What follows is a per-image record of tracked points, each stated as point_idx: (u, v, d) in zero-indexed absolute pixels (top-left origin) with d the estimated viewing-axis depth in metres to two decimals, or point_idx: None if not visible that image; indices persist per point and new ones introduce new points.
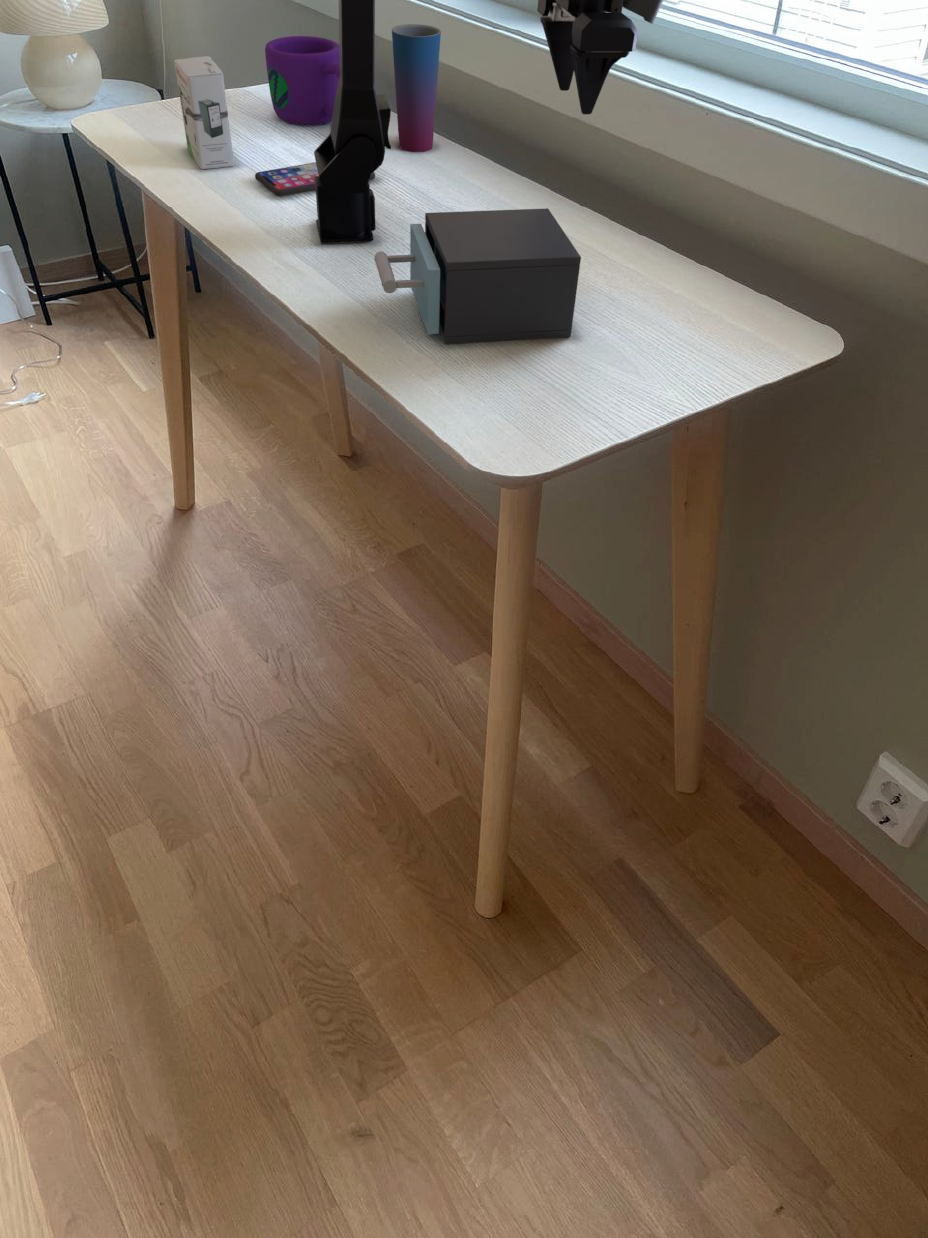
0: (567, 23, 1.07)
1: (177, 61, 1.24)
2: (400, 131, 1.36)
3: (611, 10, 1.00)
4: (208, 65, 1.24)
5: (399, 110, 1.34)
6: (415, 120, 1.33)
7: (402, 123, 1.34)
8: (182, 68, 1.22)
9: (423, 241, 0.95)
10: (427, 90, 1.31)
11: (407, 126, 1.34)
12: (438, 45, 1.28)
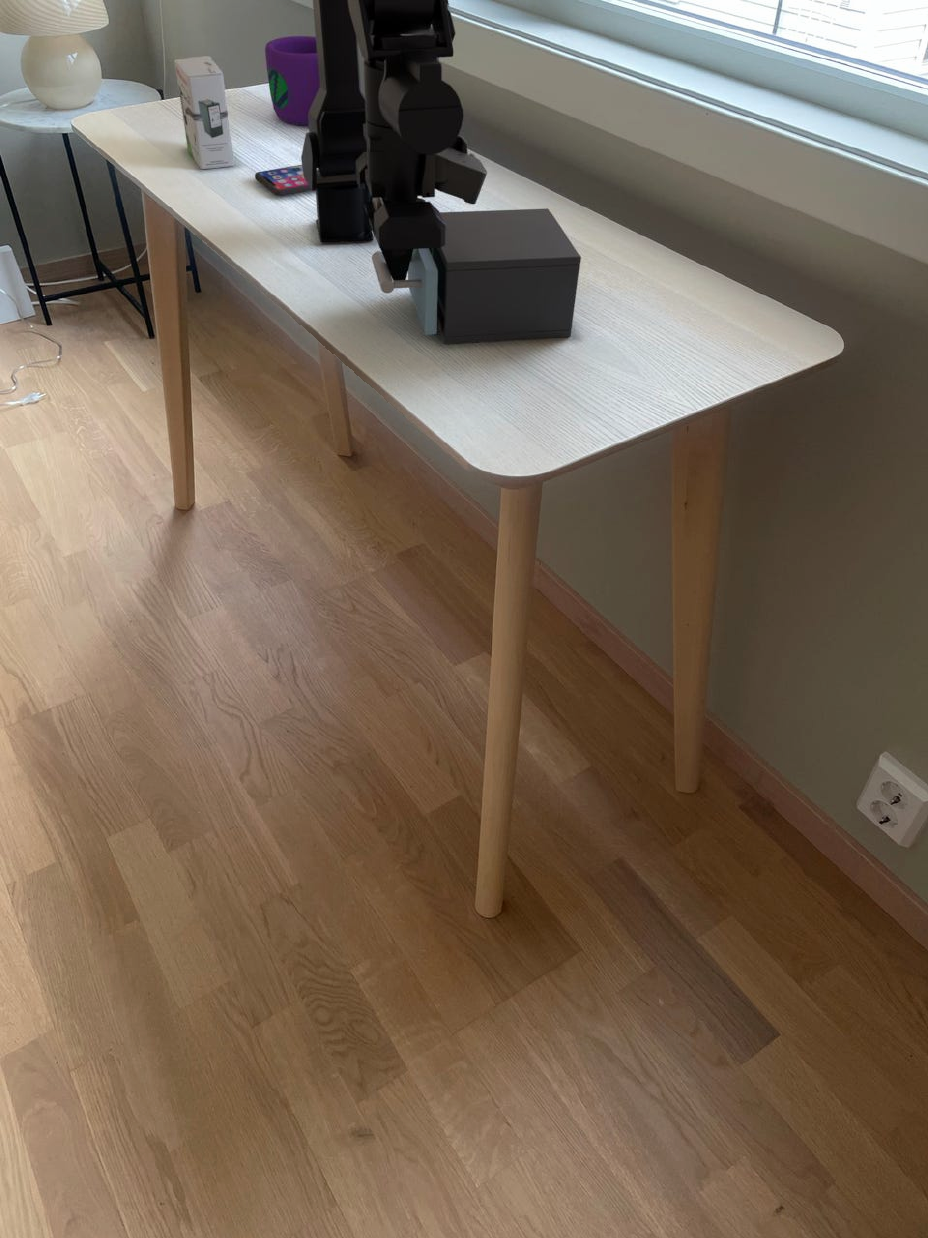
0: None
1: (177, 61, 1.24)
2: None
3: (422, 195, 0.88)
4: (208, 65, 1.24)
5: None
6: None
7: None
8: (182, 68, 1.22)
9: None
10: None
11: None
12: None
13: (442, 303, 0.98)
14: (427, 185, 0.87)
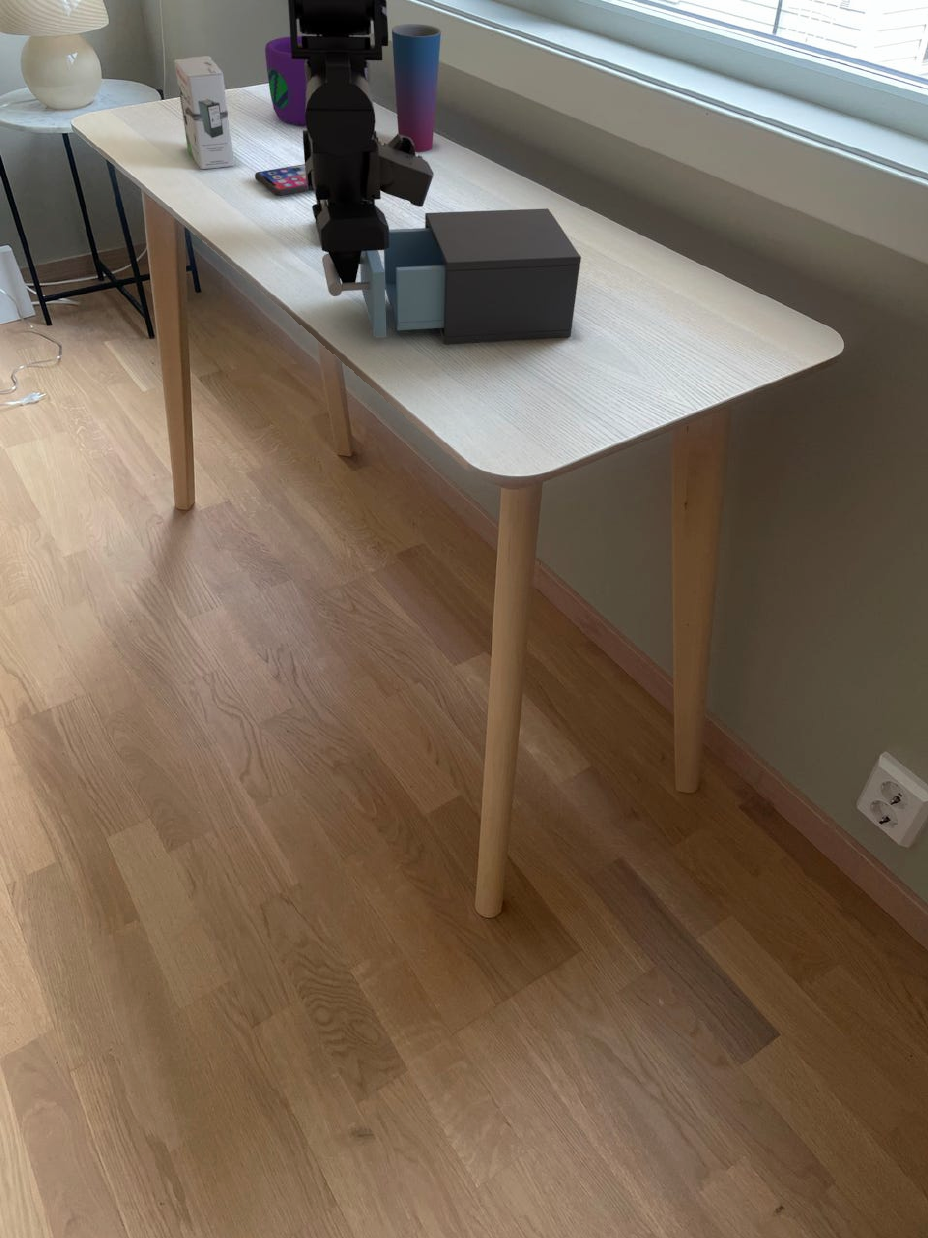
0: None
1: (177, 61, 1.24)
2: (400, 131, 1.36)
3: (367, 197, 0.87)
4: (208, 65, 1.24)
5: (399, 110, 1.34)
6: (415, 120, 1.33)
7: (402, 123, 1.34)
8: (182, 68, 1.22)
9: None
10: (427, 90, 1.31)
11: (407, 126, 1.34)
12: (438, 45, 1.28)
13: (393, 306, 0.97)
14: (372, 187, 0.86)
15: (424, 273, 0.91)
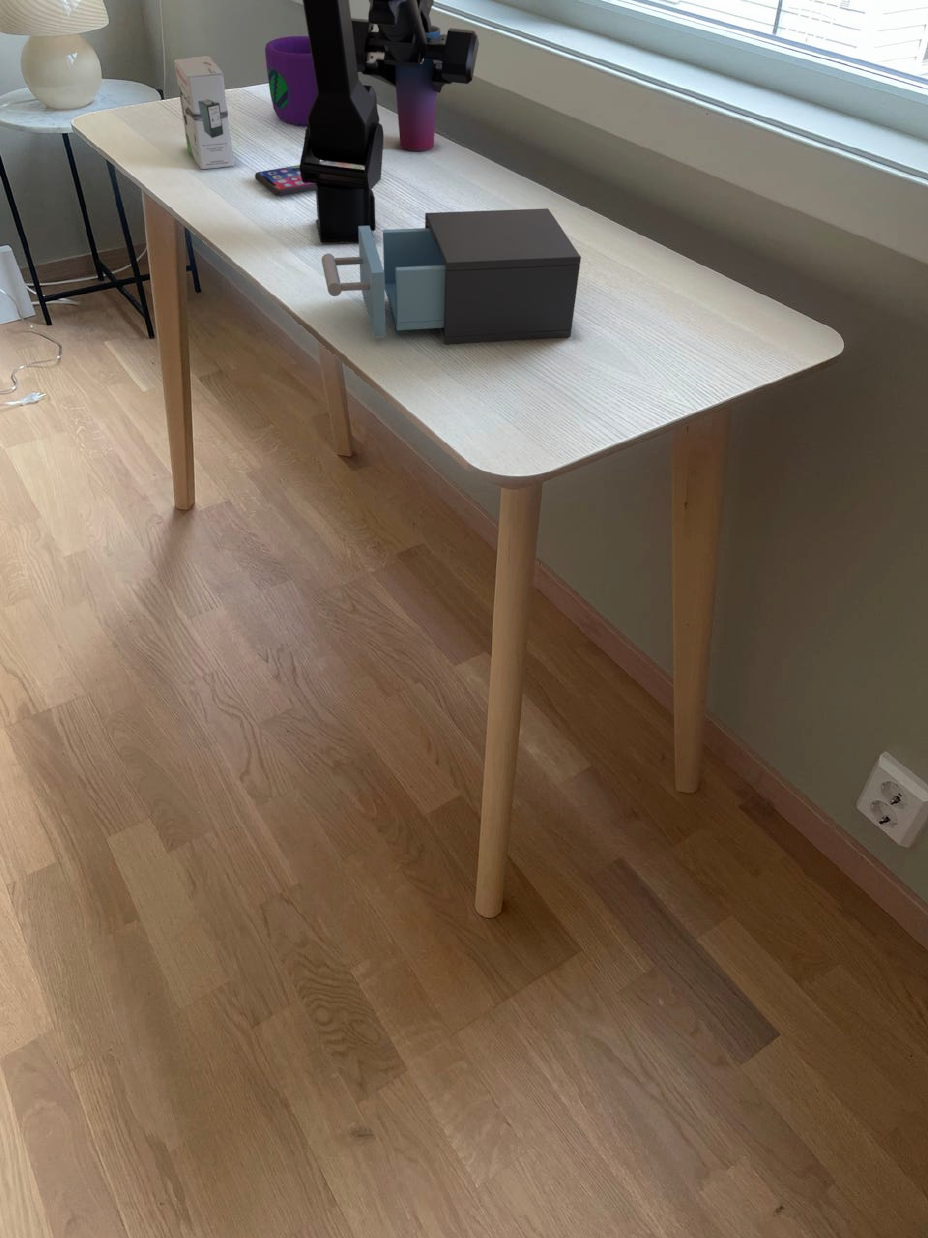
0: None
1: (177, 61, 1.24)
2: (401, 130, 1.35)
3: (429, 31, 1.24)
4: (208, 65, 1.24)
5: (400, 109, 1.34)
6: (416, 118, 1.33)
7: (403, 122, 1.34)
8: (182, 68, 1.22)
9: (370, 243, 0.94)
10: (427, 88, 1.31)
11: (408, 125, 1.34)
12: None
13: (392, 306, 0.97)
14: (429, 23, 1.23)
15: (423, 273, 0.91)
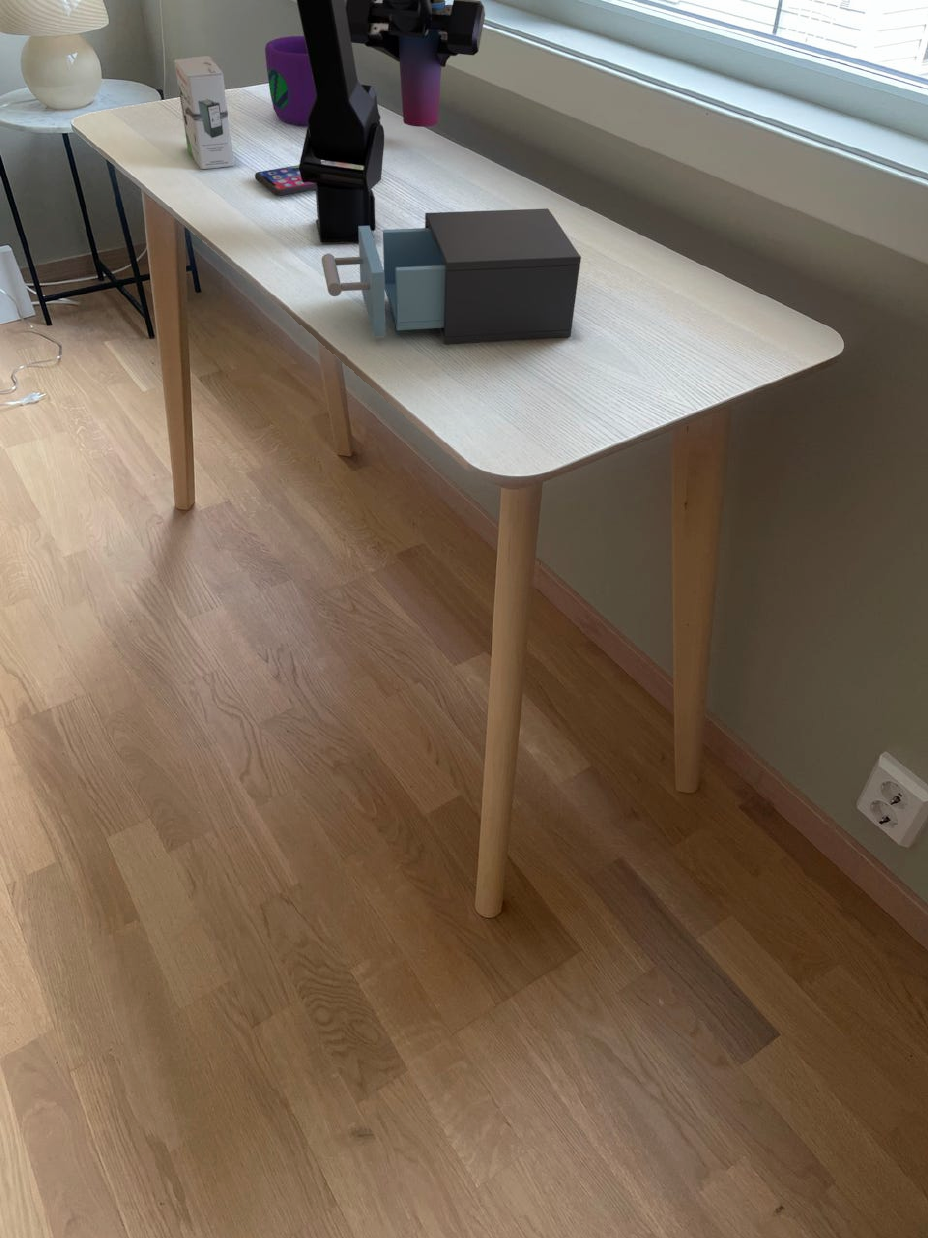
0: None
1: (177, 61, 1.24)
2: (405, 106, 1.32)
3: (434, 1, 1.21)
4: (208, 65, 1.24)
5: (403, 83, 1.30)
6: (420, 93, 1.30)
7: (407, 97, 1.31)
8: (182, 68, 1.22)
9: (370, 243, 0.94)
10: (432, 61, 1.28)
11: (411, 100, 1.31)
12: None
13: (392, 306, 0.97)
14: None
15: (423, 273, 0.91)
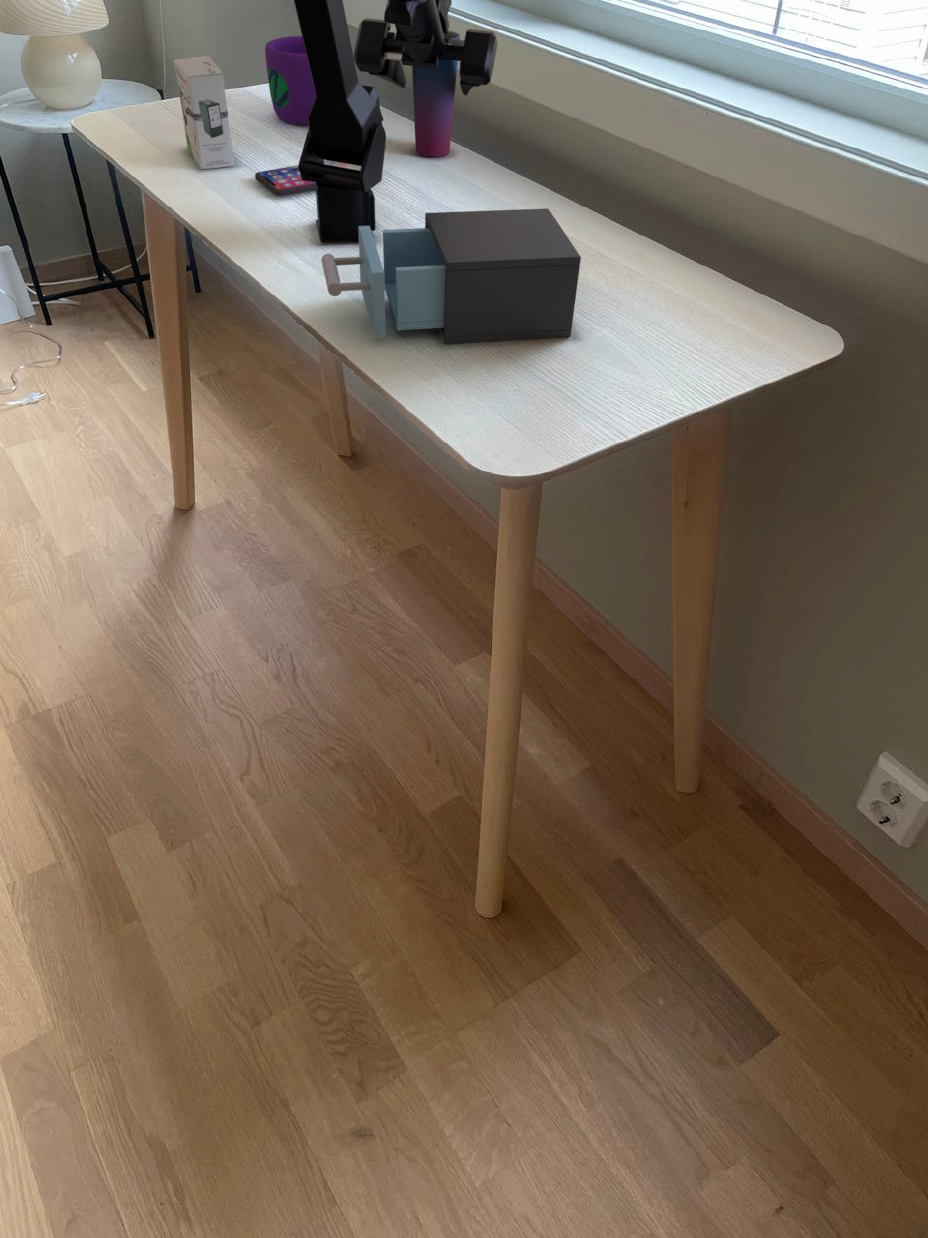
0: None
1: (177, 61, 1.24)
2: (417, 136, 1.34)
3: (447, 32, 1.22)
4: (208, 65, 1.24)
5: (416, 114, 1.32)
6: (432, 124, 1.32)
7: (419, 127, 1.33)
8: (182, 68, 1.22)
9: (370, 243, 0.94)
10: (445, 94, 1.29)
11: (424, 130, 1.33)
12: None
13: (392, 306, 0.97)
14: (447, 24, 1.21)
15: (423, 273, 0.91)
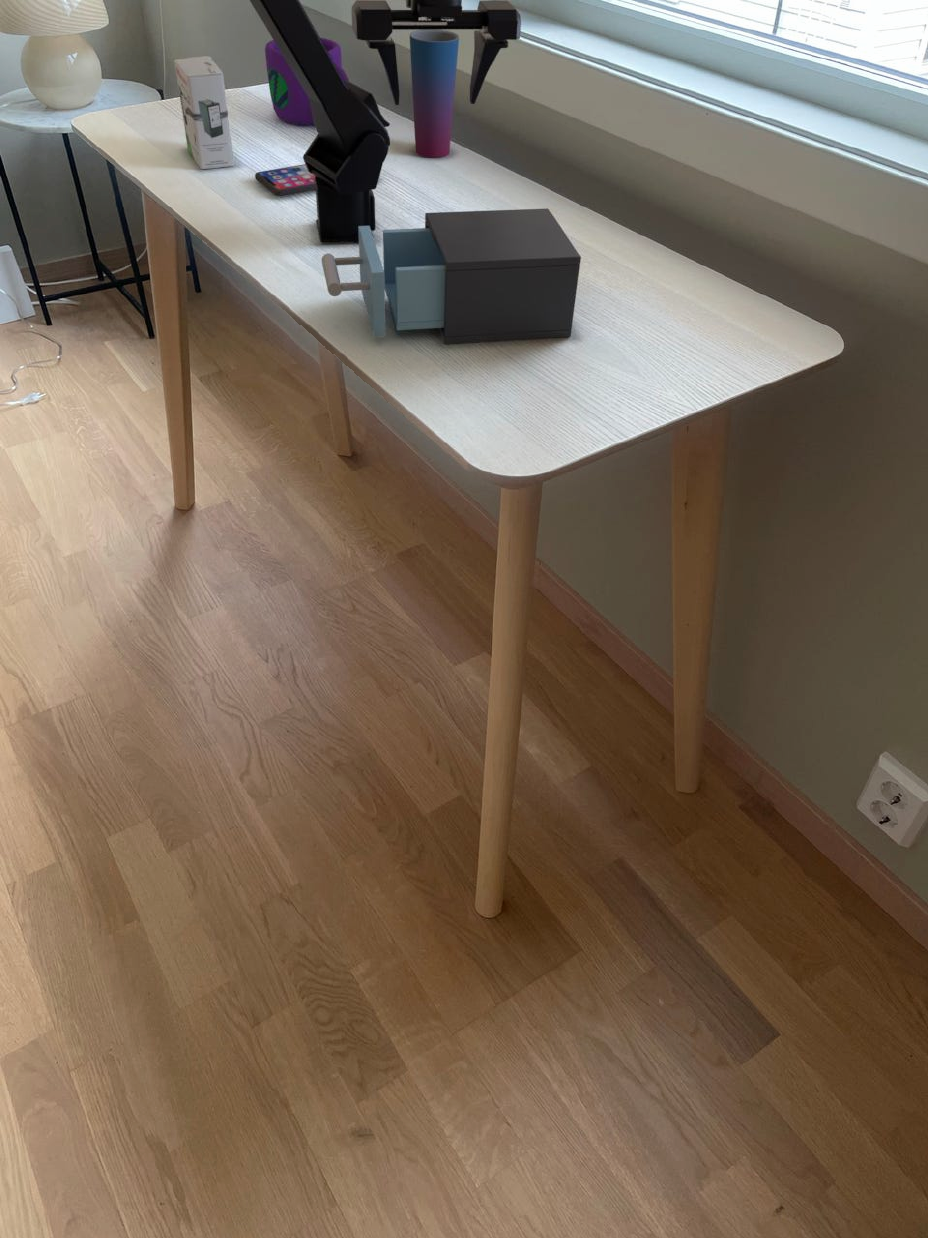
0: (392, 39, 1.05)
1: (177, 61, 1.24)
2: (417, 137, 1.34)
3: None
4: (208, 65, 1.24)
5: (416, 116, 1.32)
6: (432, 126, 1.32)
7: (419, 129, 1.33)
8: (182, 68, 1.22)
9: (370, 243, 0.94)
10: (445, 96, 1.29)
11: (424, 132, 1.33)
12: (456, 50, 1.27)
13: (392, 306, 0.97)
14: None
15: (423, 273, 0.91)
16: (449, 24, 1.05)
